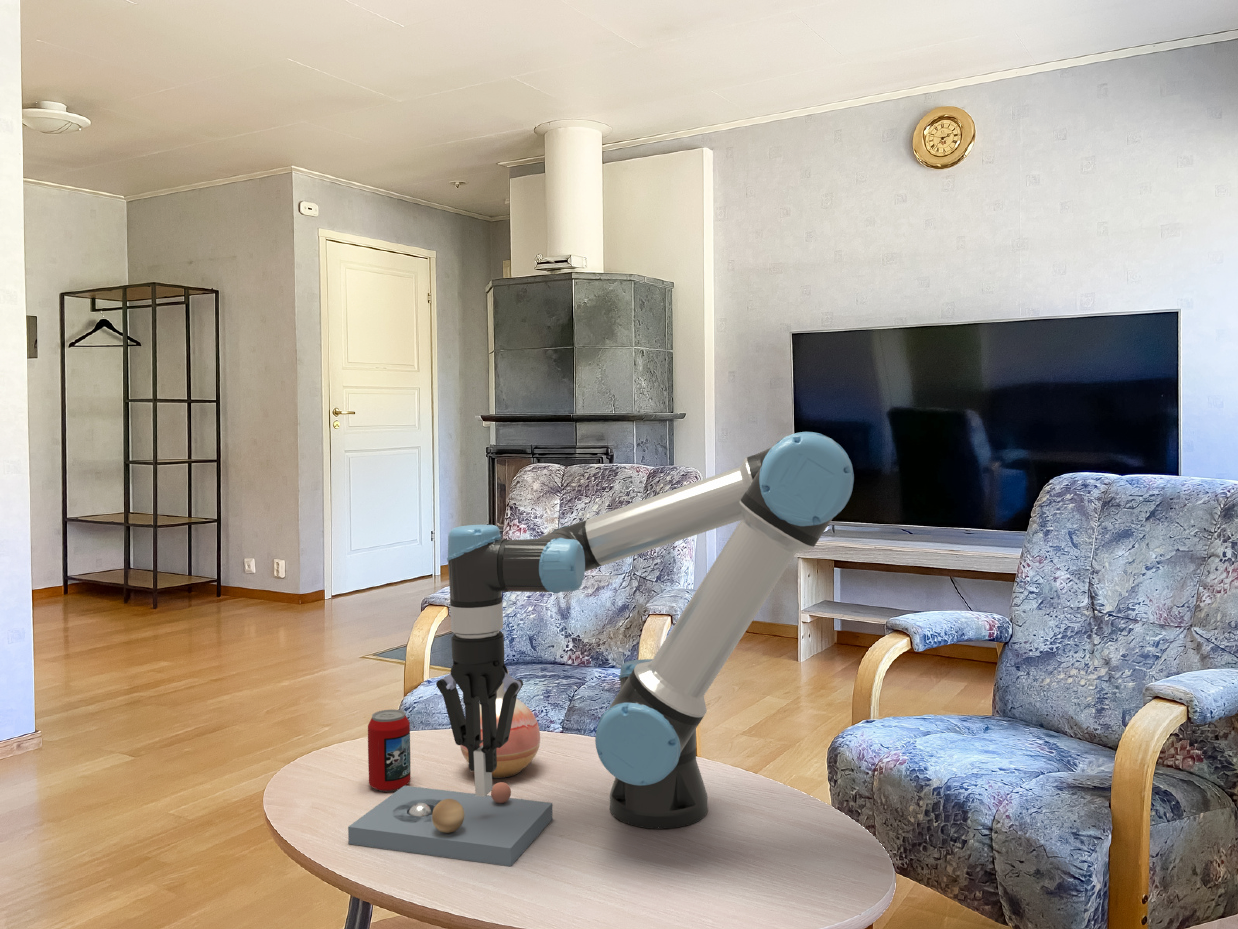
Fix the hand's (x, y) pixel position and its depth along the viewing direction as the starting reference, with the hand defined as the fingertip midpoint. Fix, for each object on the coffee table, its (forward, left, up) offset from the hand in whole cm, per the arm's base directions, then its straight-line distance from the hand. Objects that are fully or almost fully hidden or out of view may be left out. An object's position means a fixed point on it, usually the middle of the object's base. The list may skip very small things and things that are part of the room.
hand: (484, 792), depth 140 cm
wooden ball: (+3, +6, -1) cm, 7 cm away
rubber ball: (0, -5, -2) cm, 6 cm away
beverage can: (+23, -12, -6) cm, 27 cm away
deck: (+5, +1, -6) cm, 8 cm away
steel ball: (+10, +1, -4) cm, 11 cm away
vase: (+8, -23, -6) cm, 25 cm away
